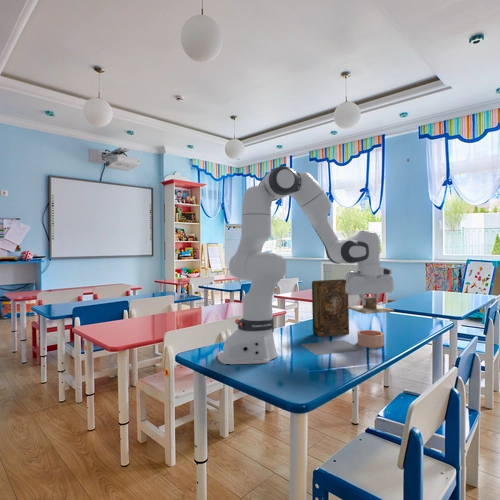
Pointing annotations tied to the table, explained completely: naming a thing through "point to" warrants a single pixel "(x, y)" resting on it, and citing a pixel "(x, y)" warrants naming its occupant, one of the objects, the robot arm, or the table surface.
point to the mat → (331, 347)
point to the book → (330, 308)
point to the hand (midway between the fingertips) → (369, 304)
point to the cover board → (367, 311)
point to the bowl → (370, 338)
